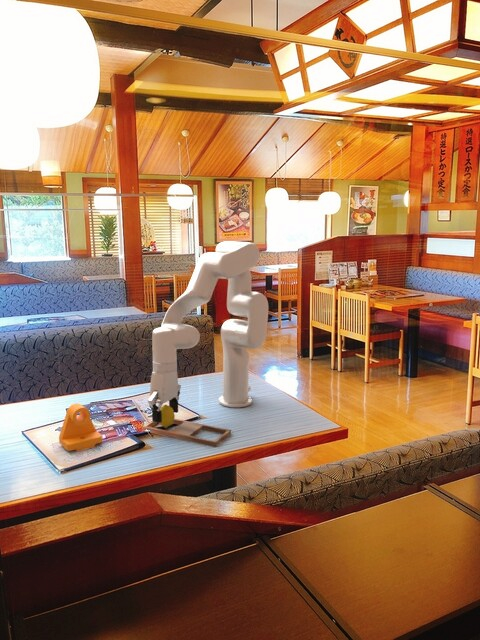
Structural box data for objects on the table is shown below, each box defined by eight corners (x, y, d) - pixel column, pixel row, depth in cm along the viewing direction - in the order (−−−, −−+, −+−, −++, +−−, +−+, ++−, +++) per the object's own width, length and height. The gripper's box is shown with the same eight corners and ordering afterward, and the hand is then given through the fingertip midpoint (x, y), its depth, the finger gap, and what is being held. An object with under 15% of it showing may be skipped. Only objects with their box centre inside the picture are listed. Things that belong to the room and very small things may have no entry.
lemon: (171, 432, 164) (171, 408, 163) (155, 430, 165) (154, 406, 164) (176, 425, 169) (176, 402, 168) (161, 424, 170) (160, 401, 169)
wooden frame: (161, 420, 174) (160, 415, 174) (231, 434, 163) (231, 430, 162) (142, 431, 164) (142, 426, 164) (215, 447, 153) (215, 442, 153)
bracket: (68, 453, 148) (66, 414, 146) (59, 445, 153) (57, 407, 151) (103, 444, 154) (101, 406, 152) (93, 436, 160) (92, 400, 158)
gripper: (169, 358, 172) (170, 406, 176) (138, 371, 157) (140, 424, 160) (188, 361, 169) (189, 410, 172) (159, 374, 154) (160, 428, 157)
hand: (165, 416), depth 166 cm, fingers open, 9 cm apart
